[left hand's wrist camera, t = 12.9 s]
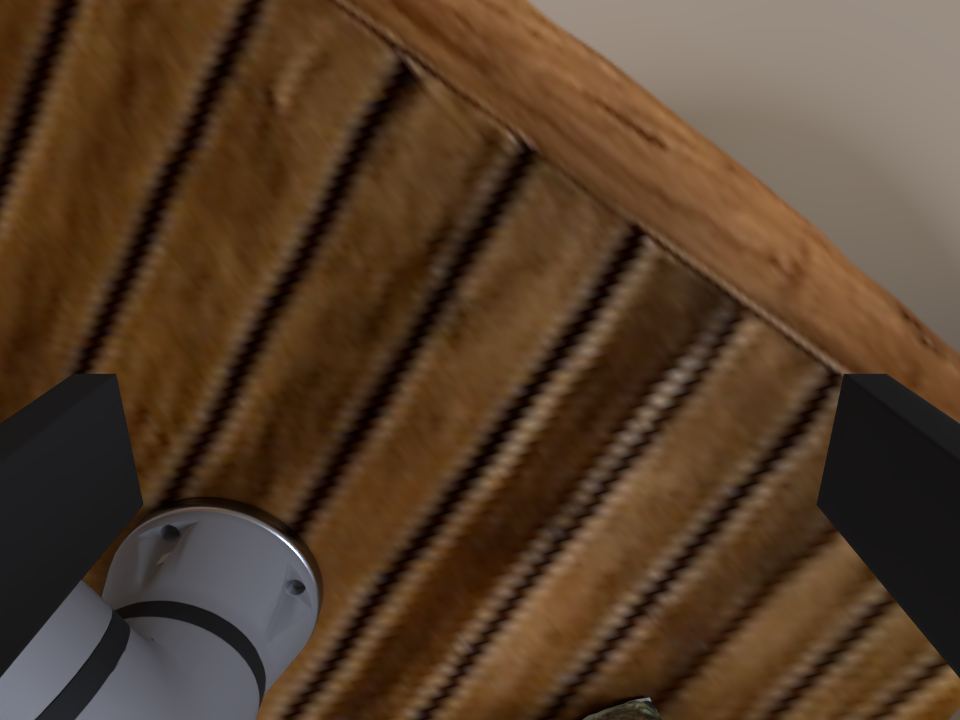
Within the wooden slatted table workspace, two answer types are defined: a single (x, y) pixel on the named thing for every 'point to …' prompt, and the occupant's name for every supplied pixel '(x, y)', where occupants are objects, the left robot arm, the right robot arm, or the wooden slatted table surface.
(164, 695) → the left robot arm
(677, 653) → the wooden slatted table surface
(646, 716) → the fossil
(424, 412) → the wooden slatted table surface
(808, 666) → the wooden slatted table surface
